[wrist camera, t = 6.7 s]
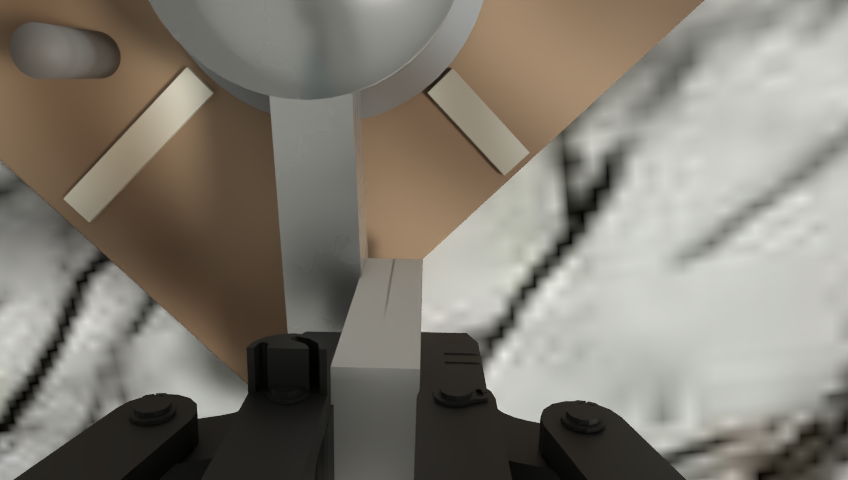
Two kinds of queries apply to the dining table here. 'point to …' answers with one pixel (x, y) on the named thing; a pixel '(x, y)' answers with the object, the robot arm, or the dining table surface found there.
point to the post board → (253, 143)
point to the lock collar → (311, 119)
